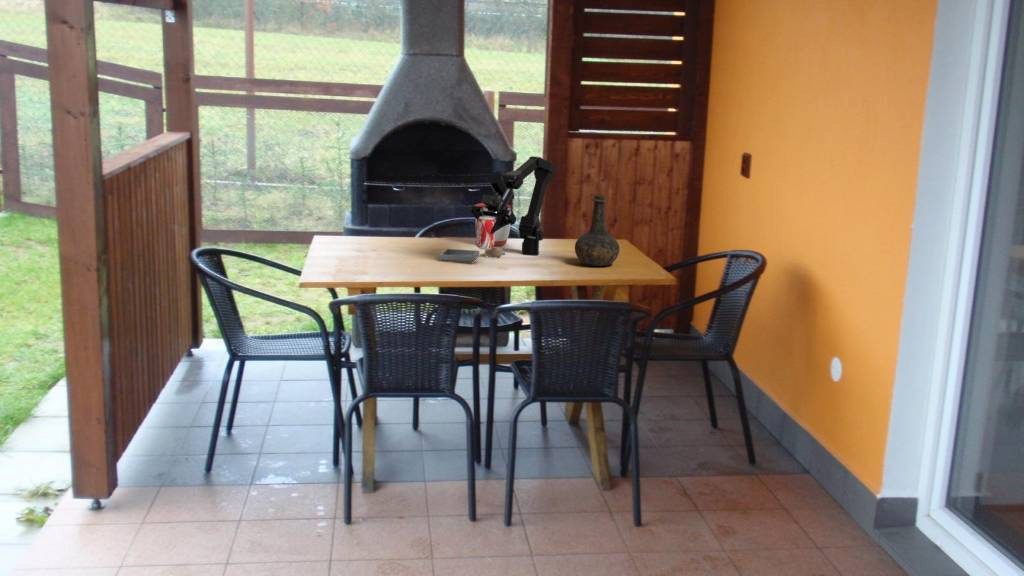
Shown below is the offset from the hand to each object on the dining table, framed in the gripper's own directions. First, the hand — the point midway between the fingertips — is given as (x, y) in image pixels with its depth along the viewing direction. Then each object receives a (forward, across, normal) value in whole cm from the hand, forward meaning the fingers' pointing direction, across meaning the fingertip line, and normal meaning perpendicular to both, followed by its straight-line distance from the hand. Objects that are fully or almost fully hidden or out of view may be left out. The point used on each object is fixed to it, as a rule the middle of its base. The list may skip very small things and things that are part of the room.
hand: (484, 231), depth 385 cm
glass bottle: (-14, +31, +34) cm, 48 cm away
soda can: (+4, 0, +6) cm, 7 cm away
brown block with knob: (-4, -8, +23) cm, 25 cm away
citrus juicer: (-19, -24, +39) cm, 49 cm away
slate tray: (+6, -14, +12) cm, 20 cm away
